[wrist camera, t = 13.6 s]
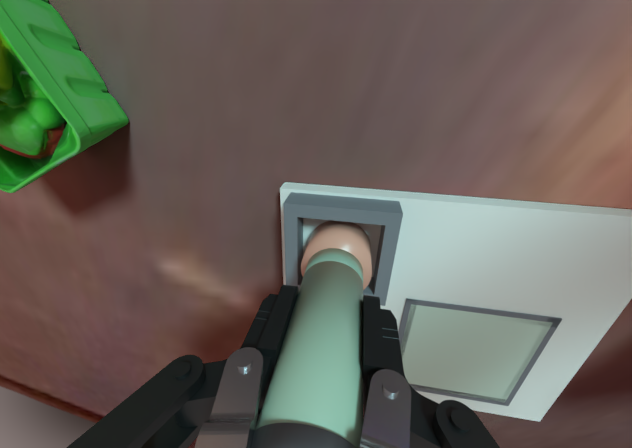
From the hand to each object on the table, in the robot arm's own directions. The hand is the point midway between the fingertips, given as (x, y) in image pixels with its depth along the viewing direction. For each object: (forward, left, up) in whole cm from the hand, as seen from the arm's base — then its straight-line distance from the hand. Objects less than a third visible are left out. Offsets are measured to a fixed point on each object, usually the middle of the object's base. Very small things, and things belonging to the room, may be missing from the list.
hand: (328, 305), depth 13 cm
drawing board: (-7, +6, -7) cm, 12 cm away
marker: (0, 0, -3) cm, 3 cm away
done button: (0, 0, -5) cm, 5 cm away
